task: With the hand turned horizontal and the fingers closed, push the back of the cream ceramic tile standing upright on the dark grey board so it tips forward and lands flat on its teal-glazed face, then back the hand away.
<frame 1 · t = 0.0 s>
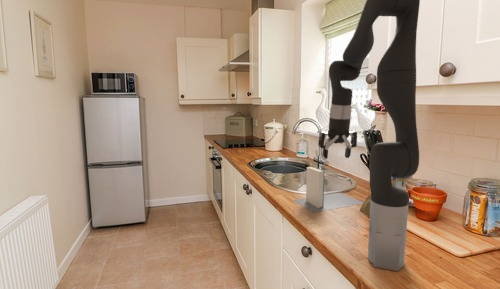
hand: (336, 157, 115), 22 cm above the worktop, tool pointing down, fingers open, 8 cm apart
beverage bottle: (400, 201, 131), on the worktop
rock: (373, 218, 113), on the worktop
board: (328, 204, 128), on the worktop
tile: (314, 203, 125), point 1 cm above the worktop, touching board
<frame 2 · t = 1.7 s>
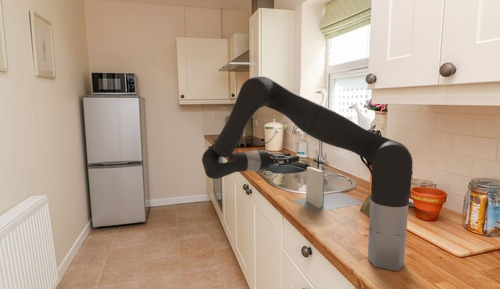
hand: (294, 157, 118), 22 cm above the worktop, tool horizontal, fingers open, 6 cm apart
nothing on the worktop moved.
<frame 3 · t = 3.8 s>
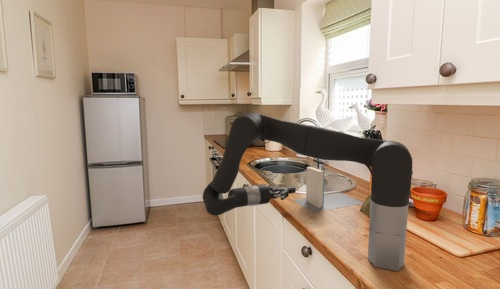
hand: (294, 189, 120), 9 cm above the worktop, tool horizontal, fingers closed
nothing on the worktop moved.
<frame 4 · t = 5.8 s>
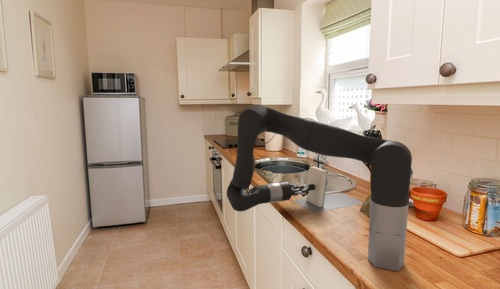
hand: (313, 186, 124), 9 cm above the worktop, tool horizontal, fingers closed
tile: (314, 203, 125), point 1 cm above the worktop, tilted 6°, touching board
everything else where it was.
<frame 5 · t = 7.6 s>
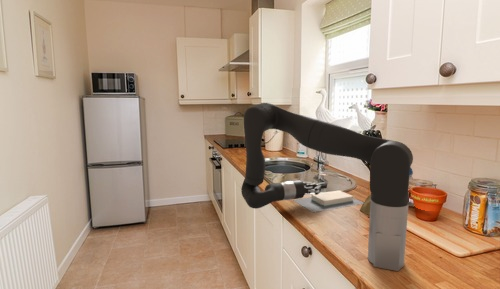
hand: (325, 185, 126), 9 cm above the worktop, tool horizontal, fingers closed
tile: (317, 200, 126), point 2 cm above the worktop, tilted 90°, touching board
everything else where it was.
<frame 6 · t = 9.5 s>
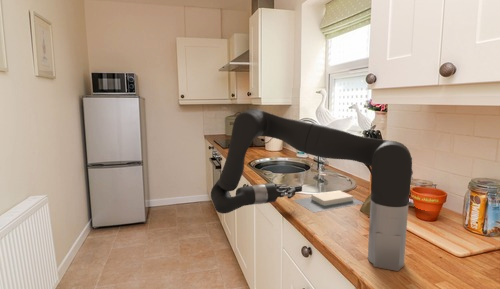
hand: (301, 188, 121), 9 cm above the worktop, tool horizontal, fingers closed
nothing on the worktop moved.
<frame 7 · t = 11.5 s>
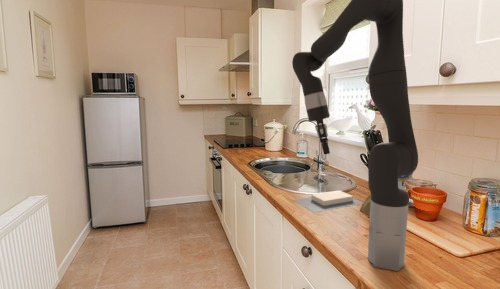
hand: (326, 153, 107), 25 cm above the worktop, tool pointing down, fingers closed
nothing on the worktop moved.
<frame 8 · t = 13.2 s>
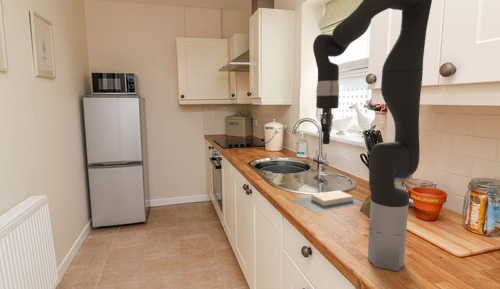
hand: (326, 143, 106), 29 cm above the worktop, tool pointing down, fingers closed
nothing on the worktop moved.
at the end: tile tilted 90°; tile inside the target area (5.7 cm from its centre), point 2.4 cm above the worktop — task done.
